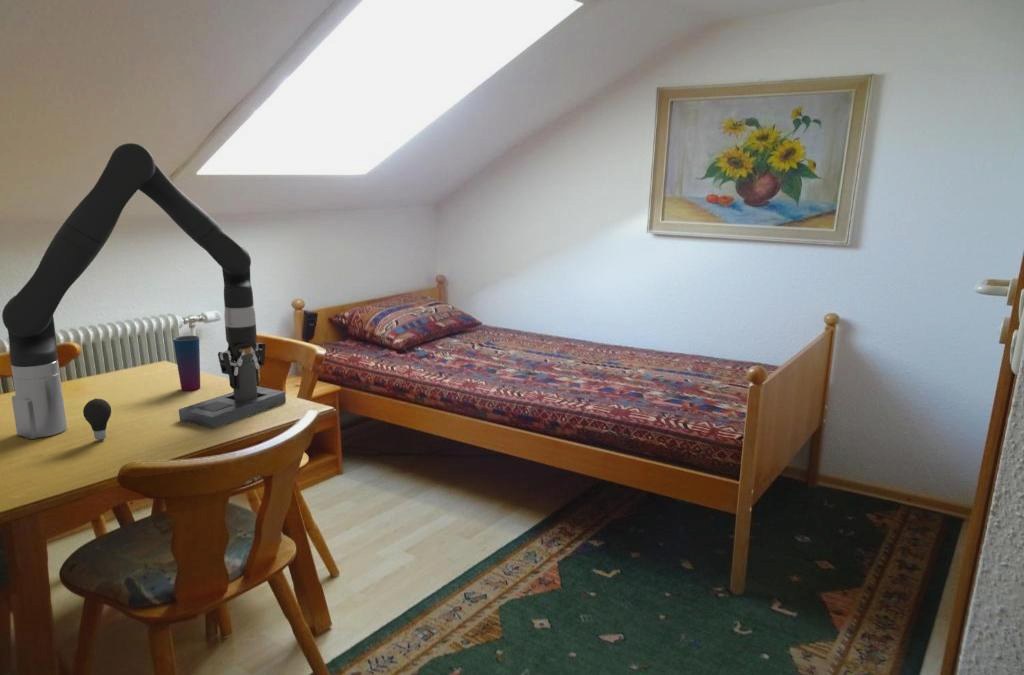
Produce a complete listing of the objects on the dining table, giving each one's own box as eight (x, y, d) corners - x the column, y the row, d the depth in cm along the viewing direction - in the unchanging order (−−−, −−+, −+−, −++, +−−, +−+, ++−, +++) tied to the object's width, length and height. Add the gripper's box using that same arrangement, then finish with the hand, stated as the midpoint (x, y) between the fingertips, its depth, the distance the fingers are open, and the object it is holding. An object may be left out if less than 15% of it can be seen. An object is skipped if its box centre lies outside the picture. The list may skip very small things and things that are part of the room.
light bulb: (108, 434, 170) (103, 394, 168) (118, 439, 167) (114, 398, 164) (82, 440, 166) (77, 399, 164) (92, 446, 162) (87, 404, 160)
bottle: (229, 403, 189) (225, 348, 186) (247, 397, 195) (243, 343, 191) (245, 406, 187) (241, 350, 183) (262, 400, 192) (258, 346, 189)
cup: (172, 390, 205) (167, 339, 201) (189, 384, 211) (184, 334, 208) (192, 393, 203) (187, 341, 199) (208, 386, 209) (204, 336, 206)
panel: (212, 428, 174) (211, 416, 174) (179, 420, 180) (178, 408, 179) (285, 402, 195) (285, 391, 195) (254, 395, 201) (253, 385, 200)
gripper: (228, 329, 178) (233, 394, 182) (271, 320, 191) (275, 381, 194) (207, 326, 181) (212, 390, 185) (251, 317, 194) (255, 377, 198)
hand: (244, 385), depth 190 cm, fingers closed on bottle, 5 cm apart
